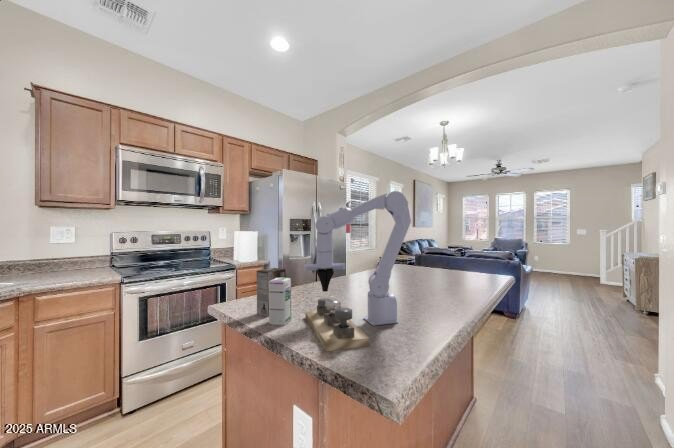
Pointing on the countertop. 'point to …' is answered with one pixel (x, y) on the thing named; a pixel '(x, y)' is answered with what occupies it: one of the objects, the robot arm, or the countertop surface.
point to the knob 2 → (343, 316)
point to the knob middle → (332, 305)
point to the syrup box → (279, 301)
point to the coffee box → (266, 288)
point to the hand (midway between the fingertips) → (324, 290)
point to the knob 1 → (322, 302)
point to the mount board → (335, 331)
